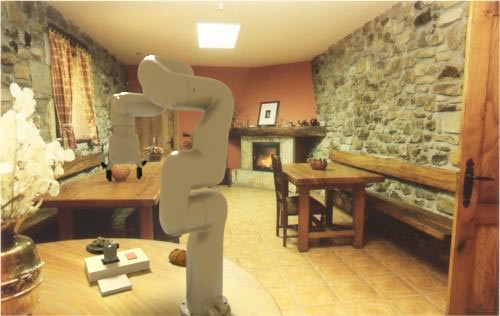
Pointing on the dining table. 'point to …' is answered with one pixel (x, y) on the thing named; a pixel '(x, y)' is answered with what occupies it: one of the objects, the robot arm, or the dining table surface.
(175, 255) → the pastry
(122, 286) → the pad
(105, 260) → the peg
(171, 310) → the dining table surface
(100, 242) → the grey rounded lumpy piece
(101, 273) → the board
